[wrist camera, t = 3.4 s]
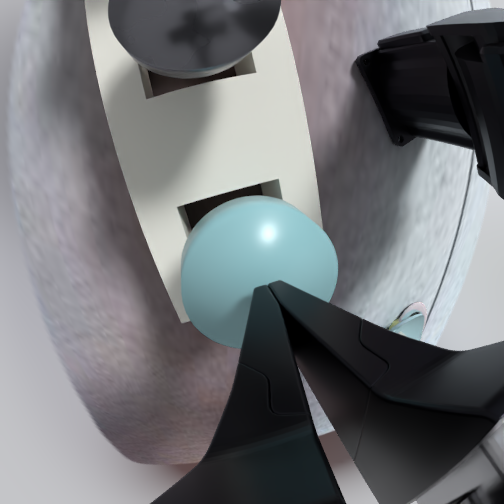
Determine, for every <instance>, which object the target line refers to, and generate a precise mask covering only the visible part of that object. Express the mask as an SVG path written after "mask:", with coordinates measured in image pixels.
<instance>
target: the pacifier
mask: <svg viewBox="0 0 504 504" xmlns="http://www.w3.org/2000/svg"><path fill="white" fill-rule="evenodd" d="M415 312H418V313H419V314H416V315H414V316H411V317H409V316H410V315H411V314H413V313H415ZM408 317H409V318H408ZM426 319H427V310H426V307H425V305H424V304H423V303H422V302H416V303H413V304H411V305H410V306H409V307H408V308H407V309H406V310H405V311H404V312H403V314H402V315H401V316H400V318H398V319H396V320H395V321H394V322H393V323H392V324H391V326H390V327H389V329H388V330H390V331H392V332H395V333H398V334H401V335H404V336H406V337H409V338H413V339H416V340H419V341H420V339H421V335H422V332H423V329H424V327H425V323H426Z"/></svg>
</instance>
